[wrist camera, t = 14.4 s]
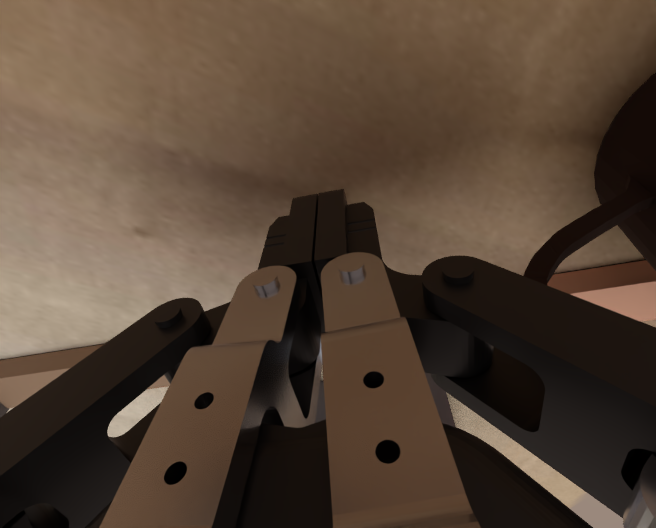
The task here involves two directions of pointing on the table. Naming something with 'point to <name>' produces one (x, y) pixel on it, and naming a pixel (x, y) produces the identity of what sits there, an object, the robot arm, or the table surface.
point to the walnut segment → (40, 374)
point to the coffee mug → (615, 188)
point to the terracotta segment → (614, 288)
